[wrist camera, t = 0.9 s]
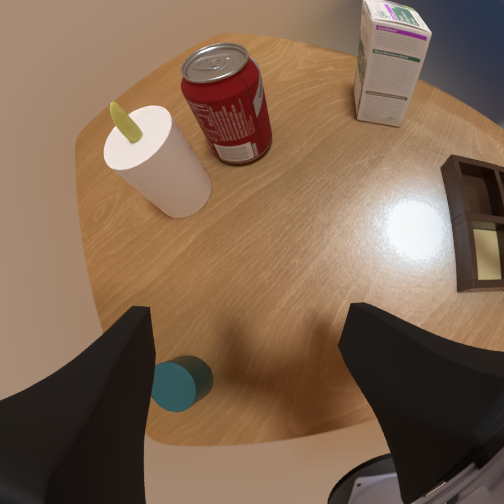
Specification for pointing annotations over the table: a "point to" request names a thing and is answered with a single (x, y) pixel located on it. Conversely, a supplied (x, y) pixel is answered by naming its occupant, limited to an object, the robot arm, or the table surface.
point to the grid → (476, 222)
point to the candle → (157, 160)
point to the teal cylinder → (181, 383)
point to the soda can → (228, 101)
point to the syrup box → (388, 61)
